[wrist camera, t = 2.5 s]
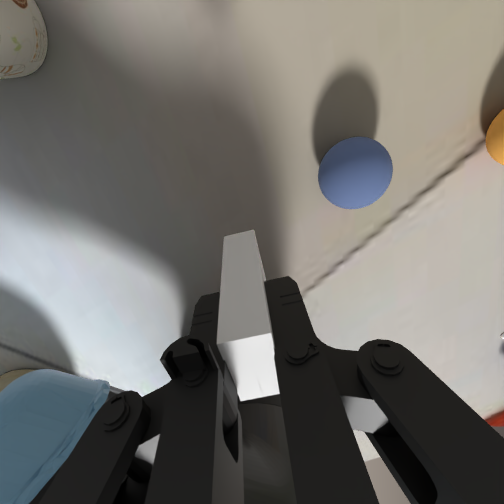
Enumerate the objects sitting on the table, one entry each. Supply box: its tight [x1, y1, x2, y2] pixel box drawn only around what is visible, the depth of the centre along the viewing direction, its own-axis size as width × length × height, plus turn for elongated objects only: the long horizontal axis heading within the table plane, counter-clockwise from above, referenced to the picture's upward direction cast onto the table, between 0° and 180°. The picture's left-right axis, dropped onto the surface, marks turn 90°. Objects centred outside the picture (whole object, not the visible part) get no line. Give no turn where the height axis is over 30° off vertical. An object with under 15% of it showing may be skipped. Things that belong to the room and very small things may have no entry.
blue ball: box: [318, 137, 393, 209], centre depth 21 cm, size 6×6×6 cm
